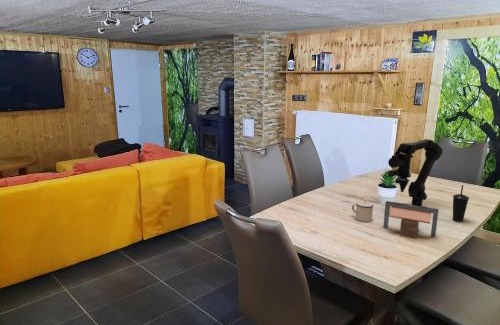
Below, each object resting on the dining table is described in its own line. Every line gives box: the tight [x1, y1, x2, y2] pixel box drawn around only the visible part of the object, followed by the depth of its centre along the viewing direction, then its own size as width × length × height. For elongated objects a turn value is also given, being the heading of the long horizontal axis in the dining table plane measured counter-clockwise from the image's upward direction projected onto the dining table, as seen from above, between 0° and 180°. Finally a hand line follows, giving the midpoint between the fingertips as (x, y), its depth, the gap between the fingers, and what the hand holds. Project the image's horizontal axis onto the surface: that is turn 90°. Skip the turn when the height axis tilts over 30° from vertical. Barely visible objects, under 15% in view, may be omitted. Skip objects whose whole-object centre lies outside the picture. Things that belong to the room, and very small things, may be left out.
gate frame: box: [383, 200, 439, 238], centre depth 176 cm, size 2×24×14 cm, turn 60°
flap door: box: [389, 206, 432, 224], centre depth 173 cm, size 1×18×6 cm
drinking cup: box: [452, 184, 470, 223], centre depth 189 cm, size 8×8×20 cm
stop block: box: [399, 219, 420, 239], centre depth 177 cm, size 14×7×8 cm, turn 150°
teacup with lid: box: [351, 198, 374, 223], centre depth 194 cm, size 12×9×12 cm
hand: (402, 192), depth 202 cm, fingers closed
